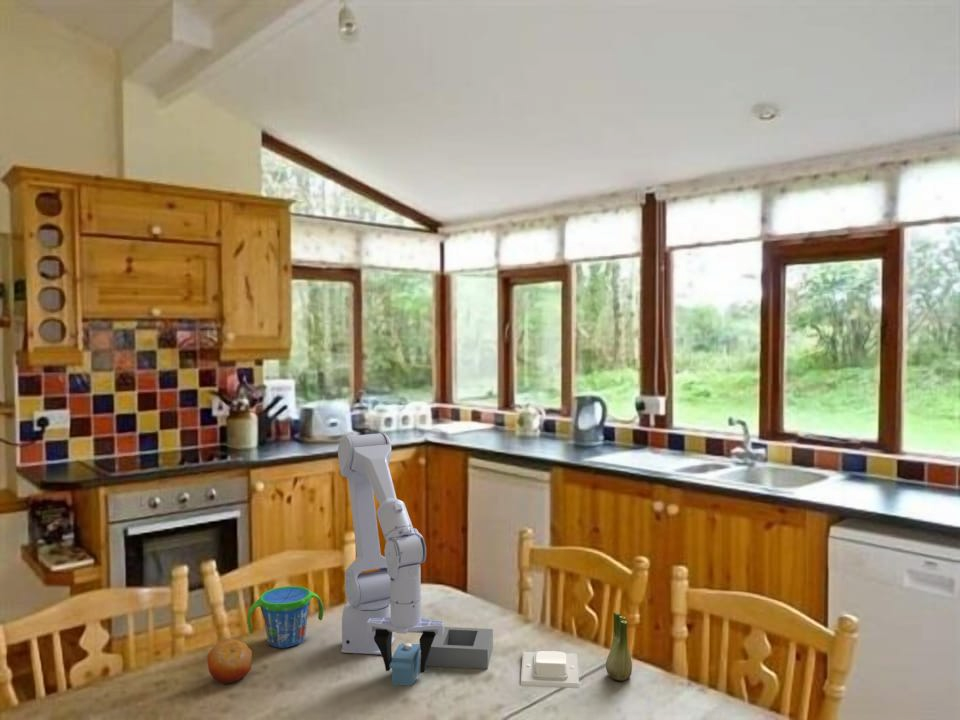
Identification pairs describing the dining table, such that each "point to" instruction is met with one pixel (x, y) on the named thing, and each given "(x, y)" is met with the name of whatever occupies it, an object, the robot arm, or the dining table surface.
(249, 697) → the dining table surface
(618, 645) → the fennel bulb
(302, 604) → the snack cup
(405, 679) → the servo
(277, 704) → the dining table surface
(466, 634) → the block
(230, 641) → the fruit
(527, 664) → the light switch
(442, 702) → the dining table surface
